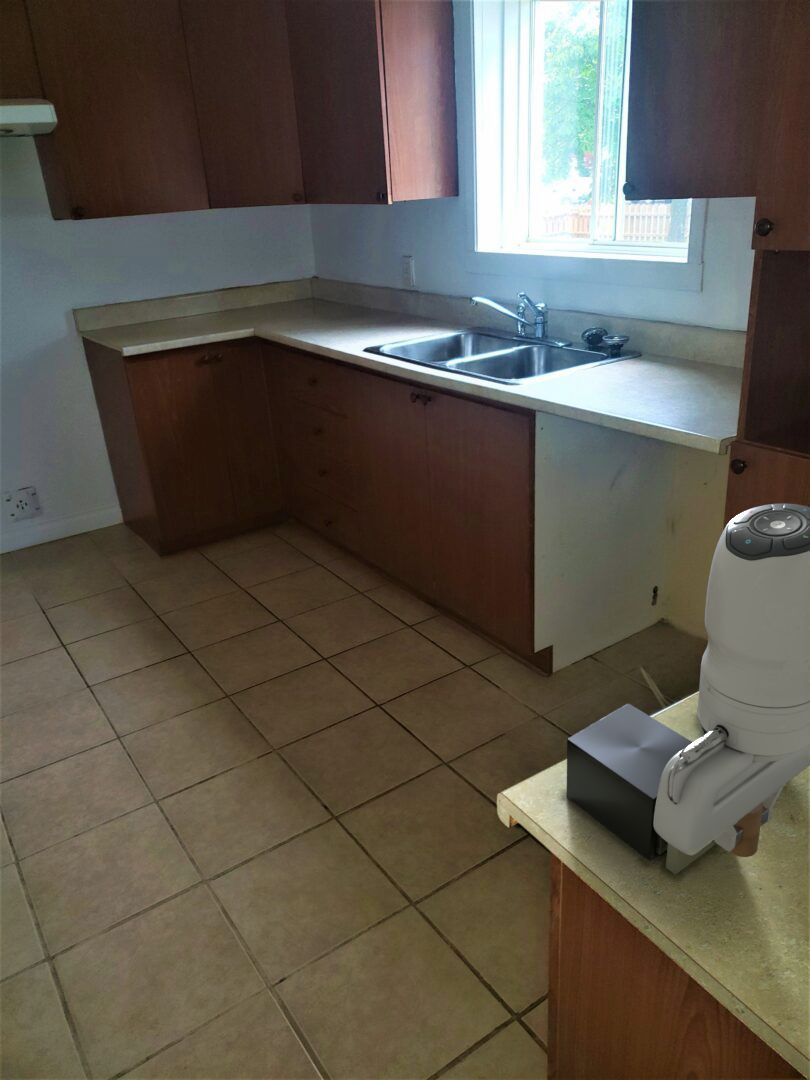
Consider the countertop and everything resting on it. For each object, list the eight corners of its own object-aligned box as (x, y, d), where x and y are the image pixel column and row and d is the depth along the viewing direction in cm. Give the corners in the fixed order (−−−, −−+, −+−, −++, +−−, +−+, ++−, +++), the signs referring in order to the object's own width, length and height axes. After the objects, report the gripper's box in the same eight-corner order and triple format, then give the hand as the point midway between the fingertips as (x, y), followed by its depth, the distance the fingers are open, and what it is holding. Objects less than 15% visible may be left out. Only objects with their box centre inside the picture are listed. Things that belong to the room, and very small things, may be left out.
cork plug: (760, 839, 72) (765, 796, 70) (754, 861, 70) (760, 818, 68) (726, 829, 74) (731, 786, 71) (720, 851, 71) (724, 808, 69)
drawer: (739, 841, 82) (746, 786, 79) (685, 883, 78) (691, 827, 75) (647, 779, 91) (650, 727, 88) (595, 813, 87) (597, 761, 84)
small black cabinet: (709, 822, 85) (716, 756, 82) (648, 867, 81) (653, 799, 77) (625, 765, 94) (628, 703, 90) (566, 803, 90) (566, 738, 86)
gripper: (707, 784, 58) (695, 919, 64) (865, 670, 67) (842, 797, 73) (637, 740, 62) (632, 869, 69) (794, 639, 72) (778, 760, 78)
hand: (742, 831), depth 71 cm, fingers closed on cork plug, 3 cm apart
